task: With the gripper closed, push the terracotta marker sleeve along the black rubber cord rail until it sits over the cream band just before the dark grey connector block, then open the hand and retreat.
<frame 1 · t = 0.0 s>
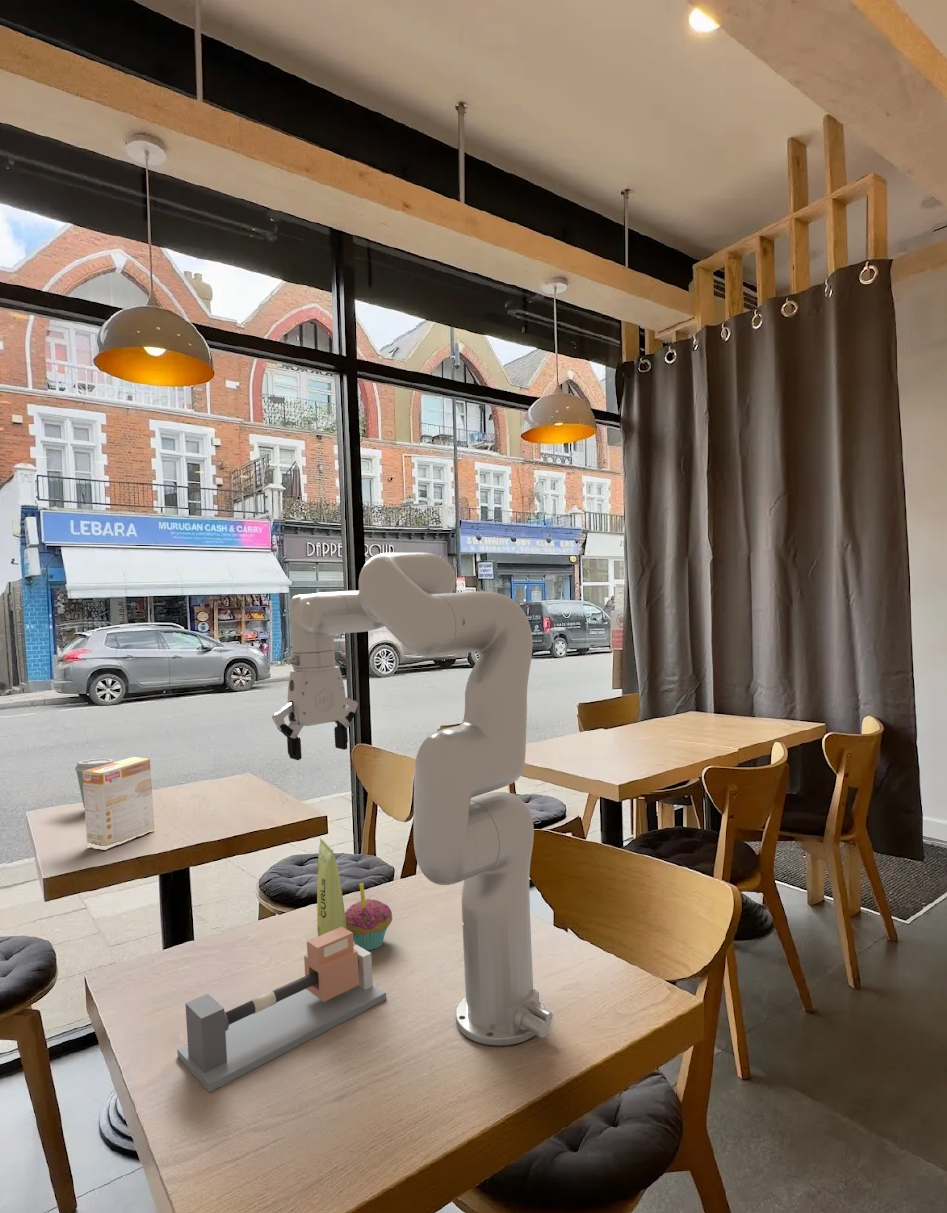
hand: (319, 753, 133), 31 cm above the table, fingers open, 9 cm apart
tube: (333, 960, 120), on the table
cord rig: (297, 1021, 103), on the table
sleeve: (331, 962, 107), point 6 cm above the table, slide at 0.0 cm
disposable coffee cup: (98, 811, 212), on the table
cupcake: (368, 945, 125), on the table
coffeecake box: (121, 840, 185), on the table
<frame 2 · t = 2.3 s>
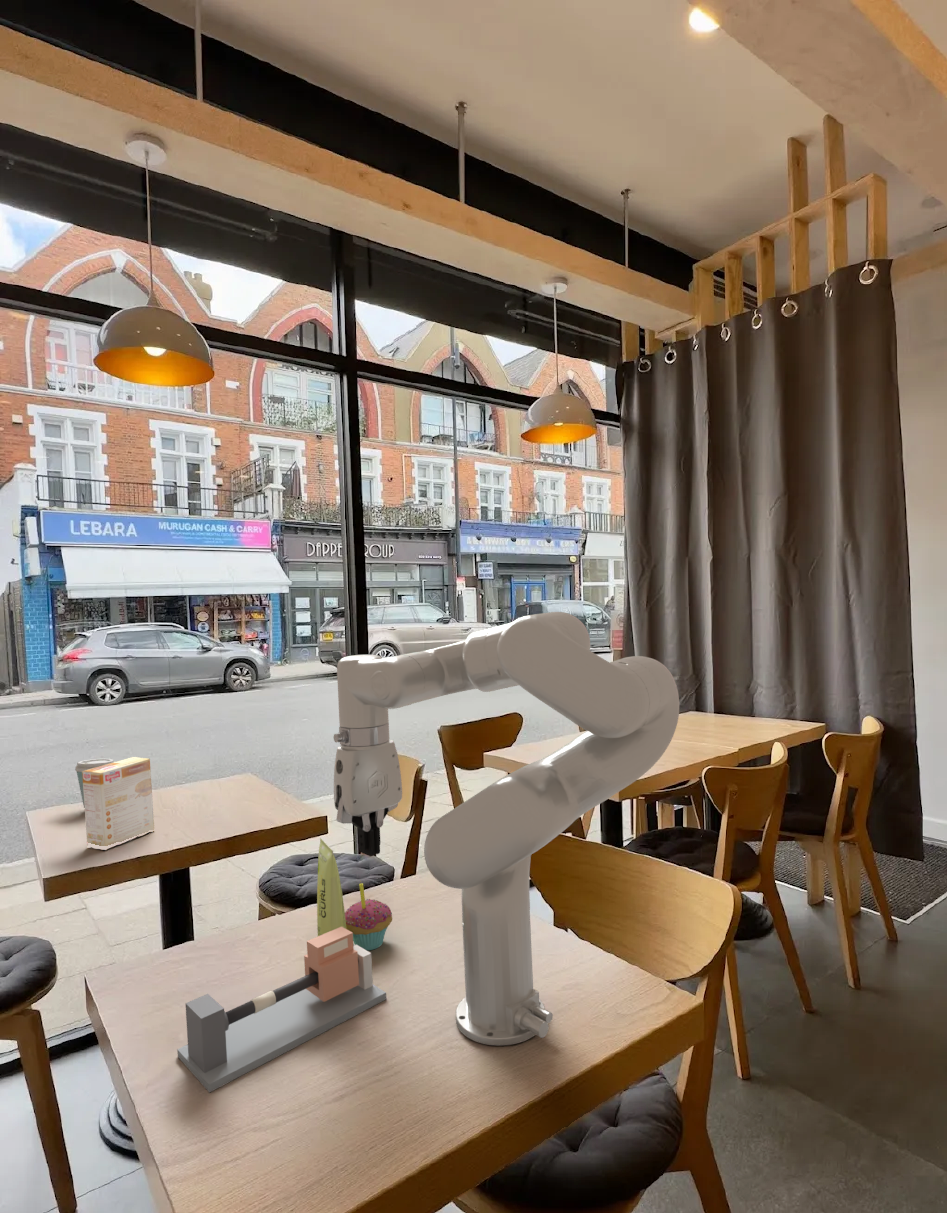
hand: (369, 852, 112), 20 cm above the table, fingers closed
nothing on the table moved.
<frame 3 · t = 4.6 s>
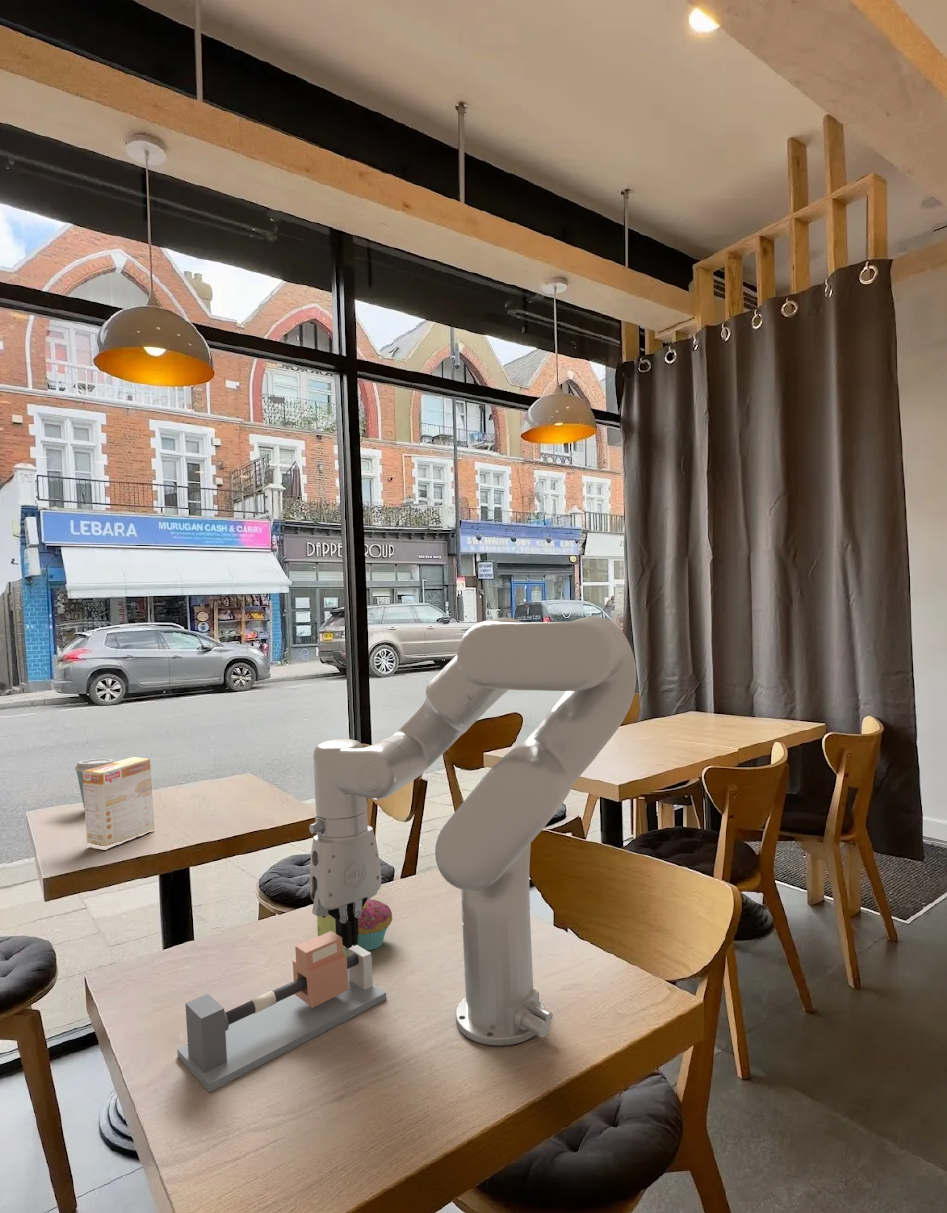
hand: (347, 943, 109), 8 cm above the table, fingers closed
sleeve: (320, 967, 106), point 6 cm above the table, slide at 1.9 cm, touching gripper
everything else where it was.
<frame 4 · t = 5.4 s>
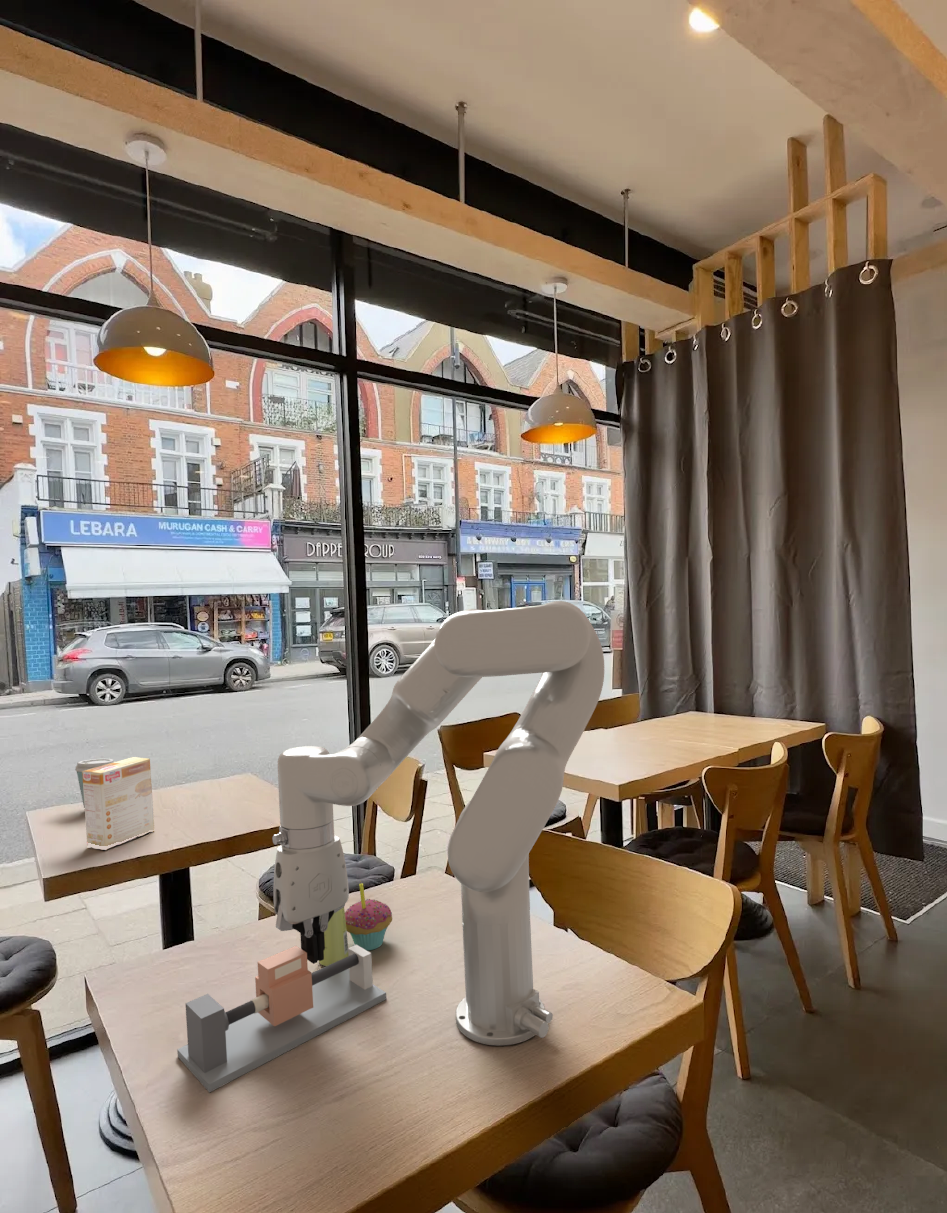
hand: (313, 958, 105), 8 cm above the table, fingers closed
sleeve: (283, 983, 102), point 6 cm above the table, slide at 7.8 cm, touching gripper
everything else where it was.
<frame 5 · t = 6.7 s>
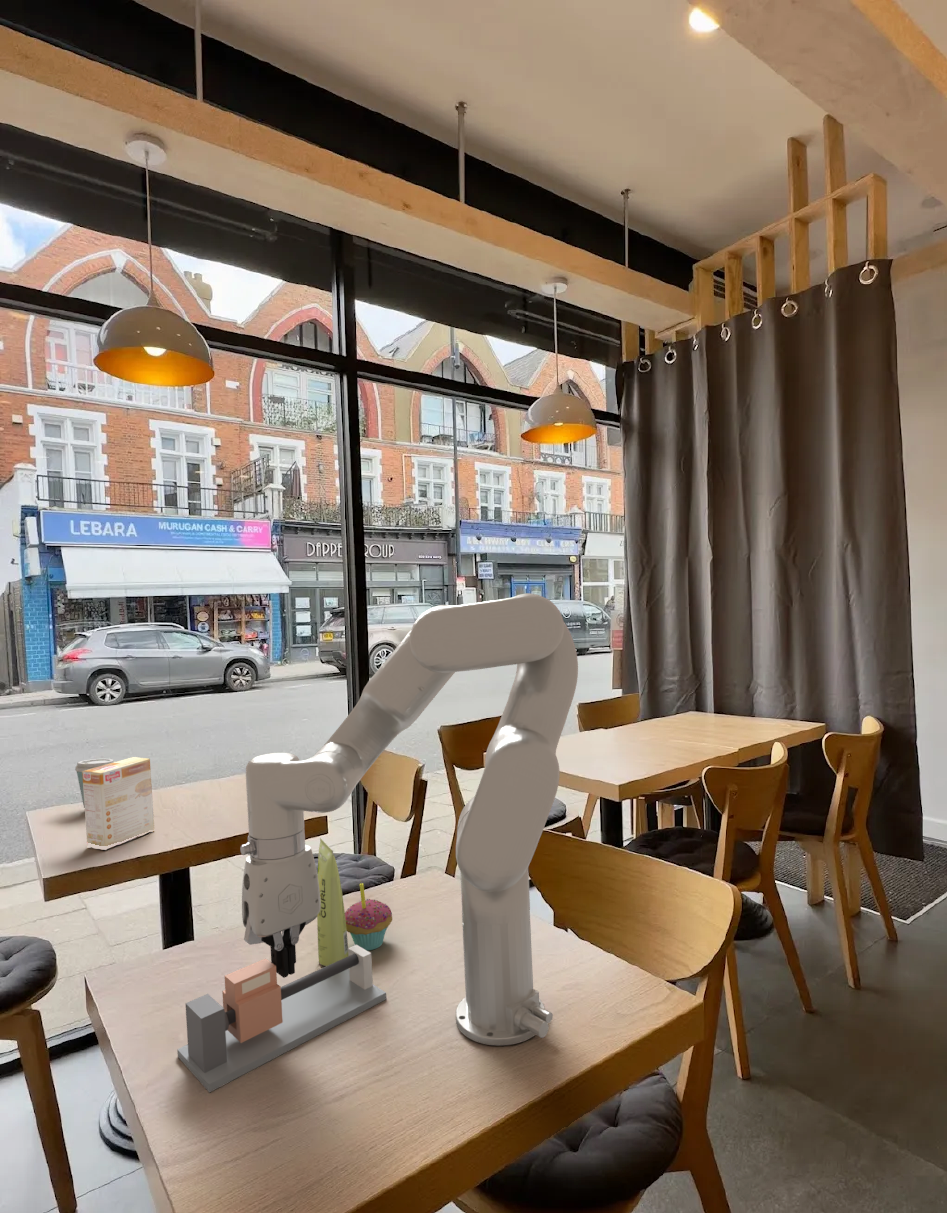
hand: (284, 972, 102), 8 cm above the table, fingers closed
sleeve: (252, 998, 98), point 6 cm above the table, slide at 12.5 cm, touching gripper
everything else where it was.
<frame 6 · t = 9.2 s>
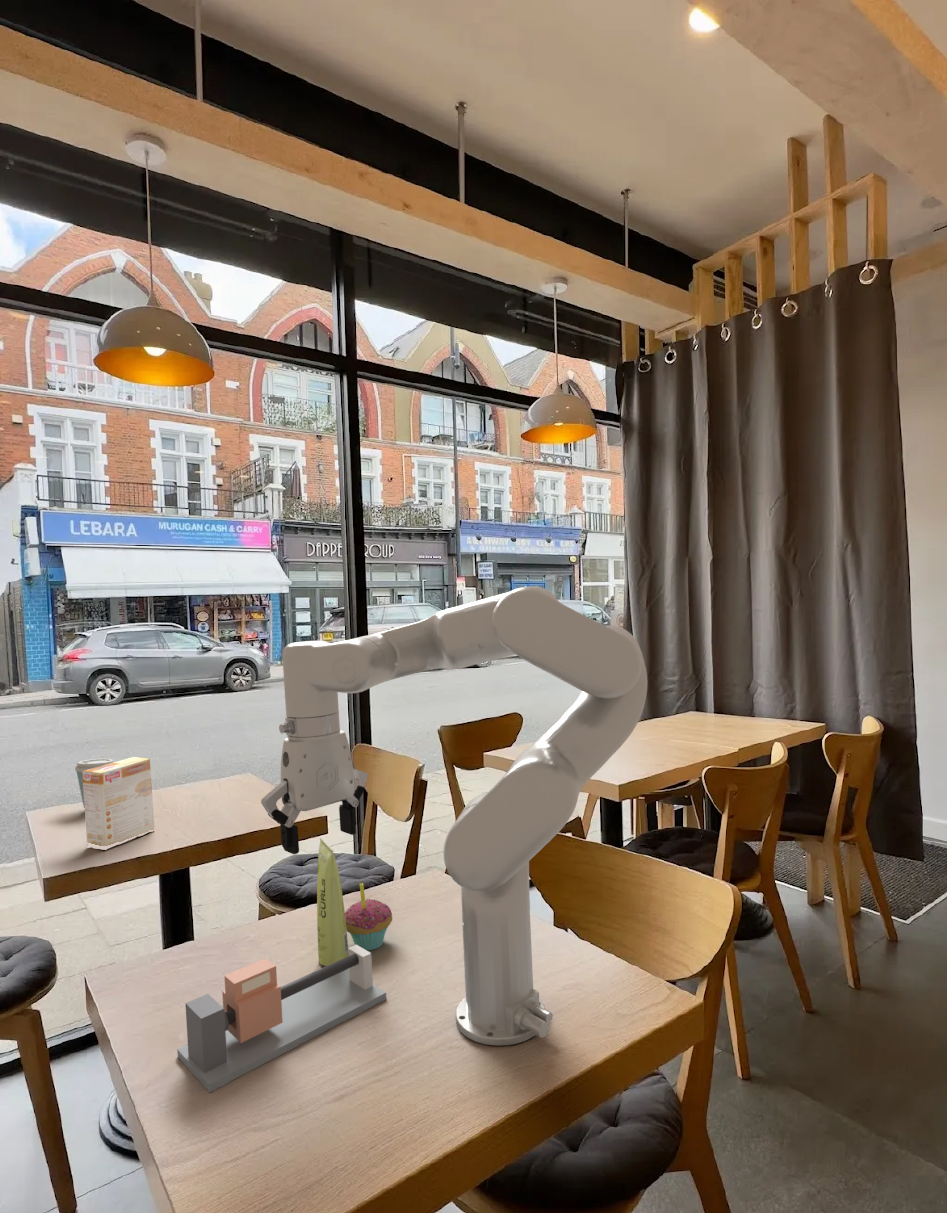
hand: (320, 842, 106), 24 cm above the table, fingers open, 9 cm apart
sleeve: (252, 998, 98), point 6 cm above the table, slide at 12.5 cm
everything else where it was.
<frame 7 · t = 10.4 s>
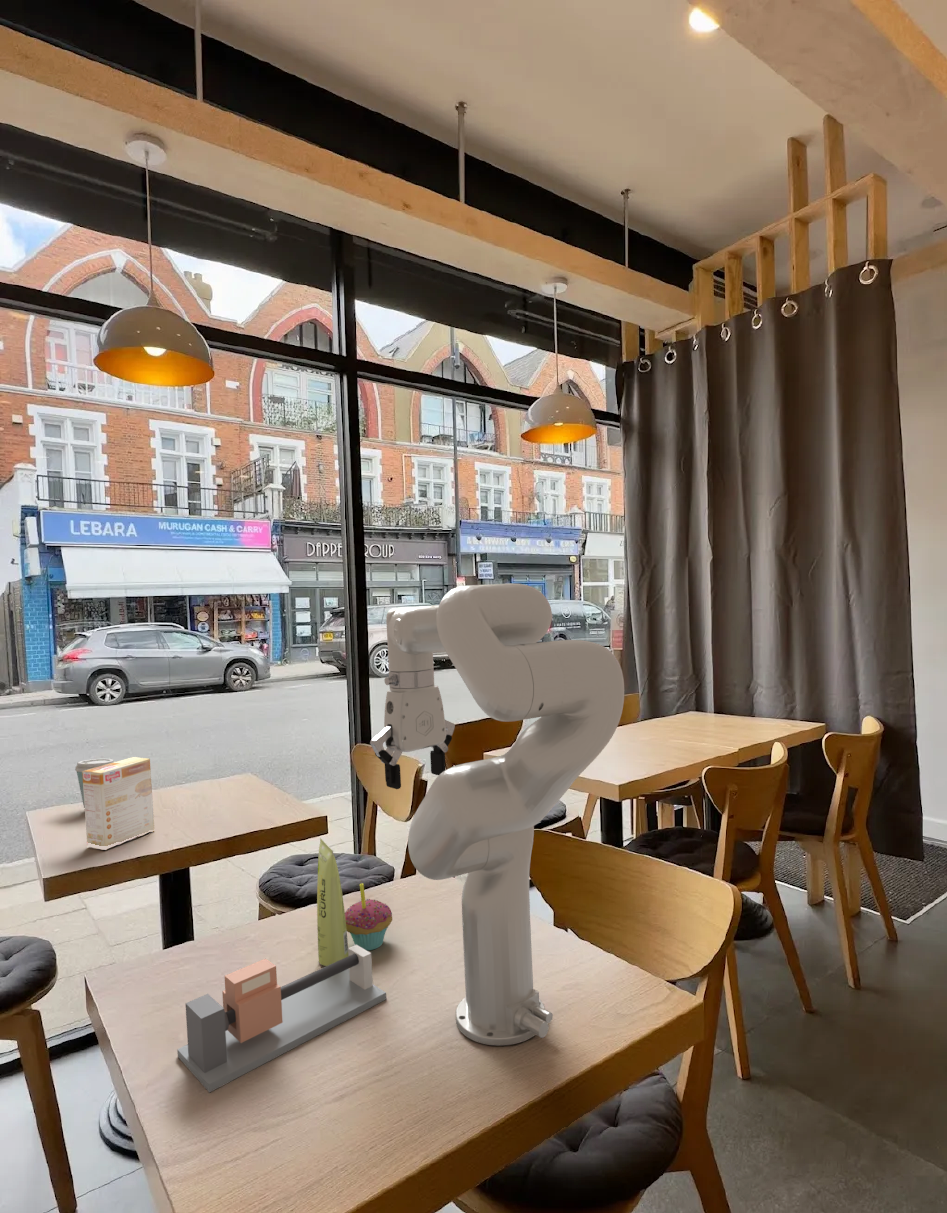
hand: (416, 781, 122), 28 cm above the table, fingers open, 9 cm apart
nothing on the table moved.
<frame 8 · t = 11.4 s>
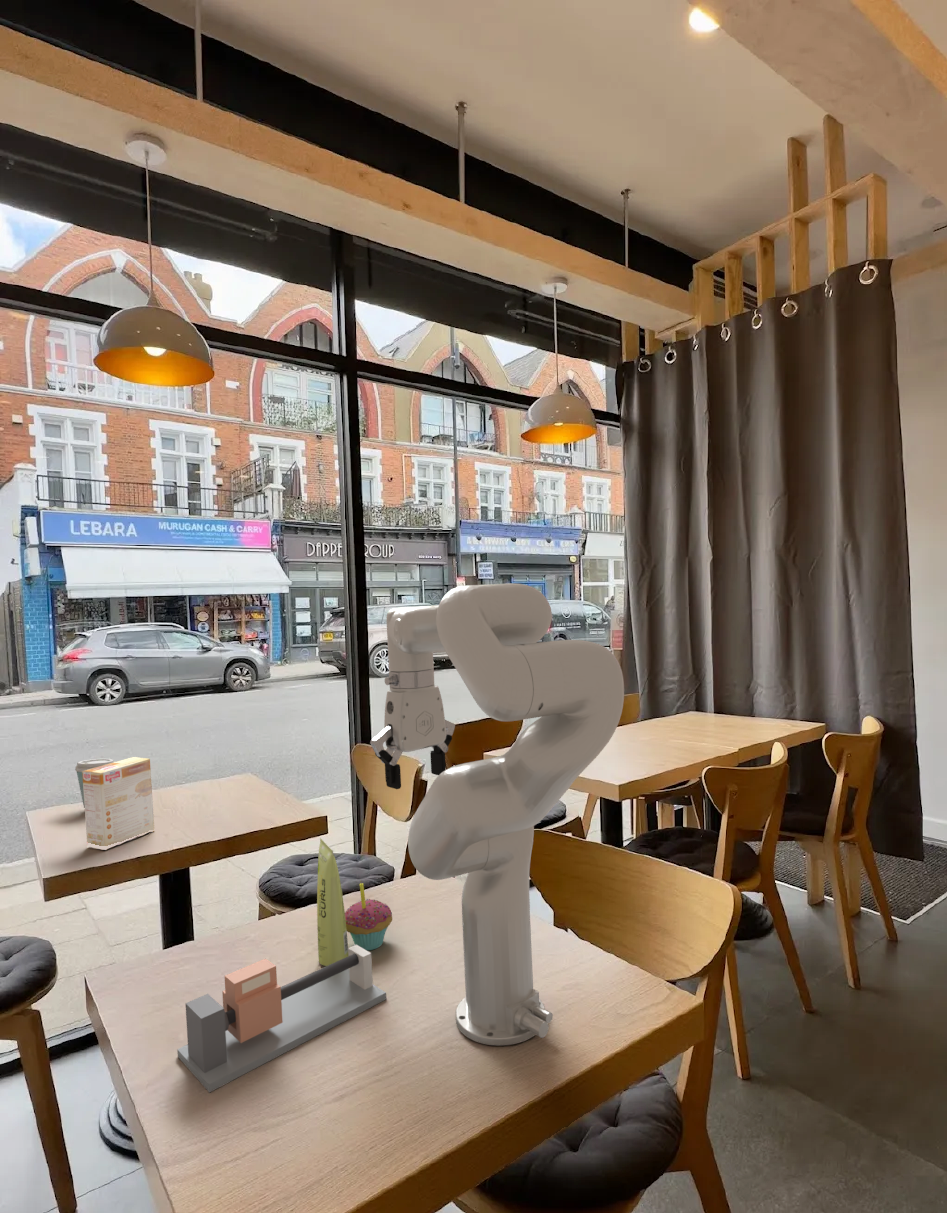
hand: (416, 781, 122), 28 cm above the table, fingers open, 9 cm apart
nothing on the table moved.
at the end: sleeve slide at 12.5 cm; the gripper is holding nothing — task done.
